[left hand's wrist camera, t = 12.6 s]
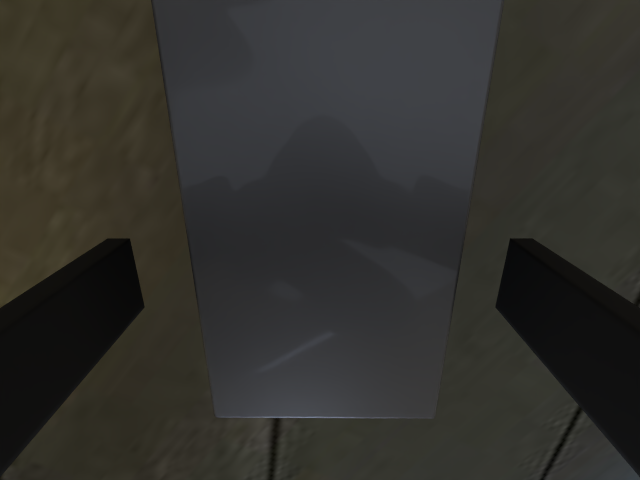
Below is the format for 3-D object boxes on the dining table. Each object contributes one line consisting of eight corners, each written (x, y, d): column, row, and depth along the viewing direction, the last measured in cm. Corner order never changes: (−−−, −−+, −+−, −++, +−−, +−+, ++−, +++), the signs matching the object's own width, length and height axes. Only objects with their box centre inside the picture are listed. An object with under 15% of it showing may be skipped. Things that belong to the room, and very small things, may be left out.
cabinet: (240, -132, 14) (42, -690, 4) (409, -133, 14) (623, -697, 4) (265, 264, 21) (213, 418, 11) (380, 264, 21) (435, 420, 11)
